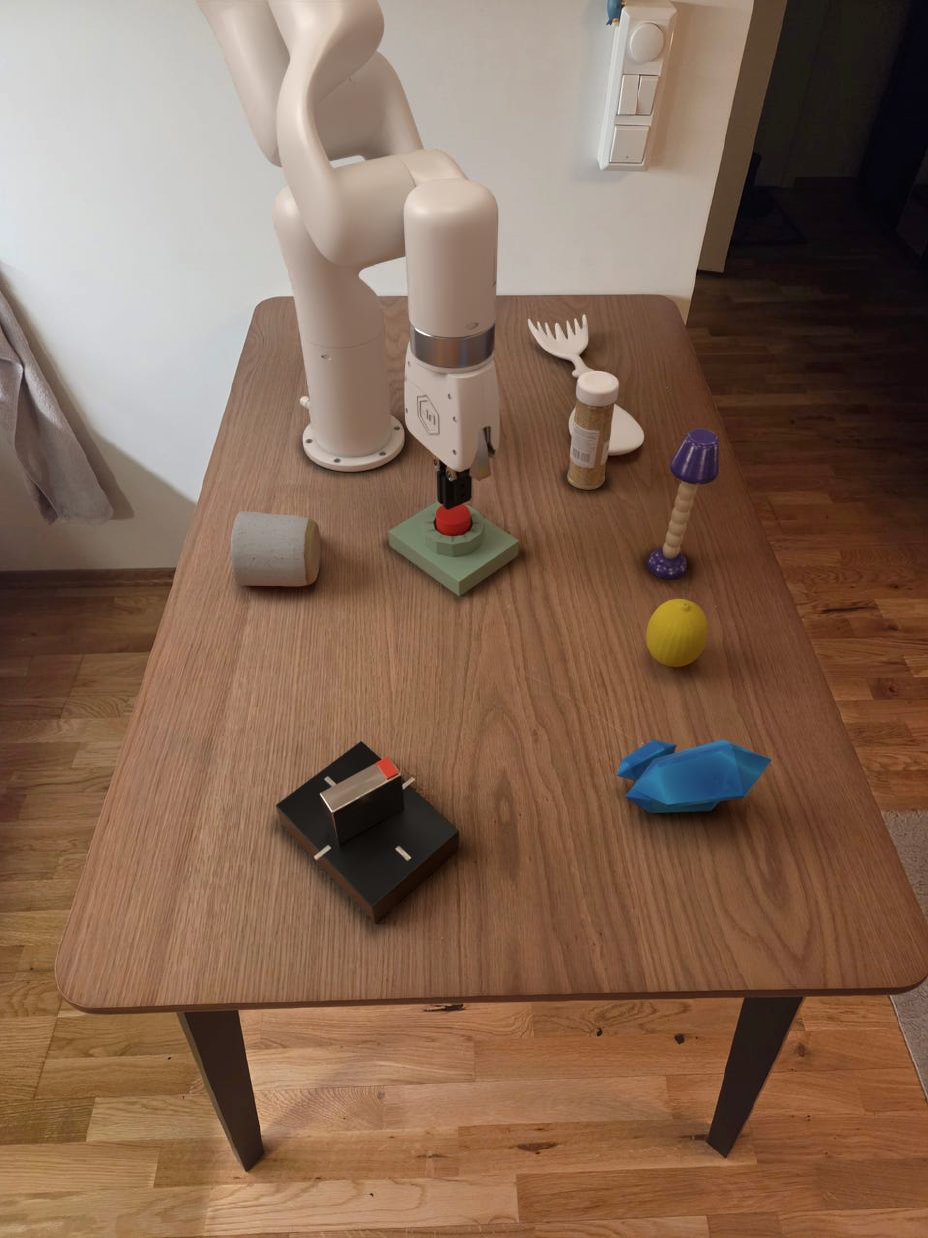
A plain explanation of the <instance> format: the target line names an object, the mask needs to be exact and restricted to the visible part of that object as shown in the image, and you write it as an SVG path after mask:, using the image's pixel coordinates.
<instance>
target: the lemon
mask: <svg viewBox="0 0 928 1238" xmlns="http://www.w3.org/2000/svg"><path fill="white" fill-rule="evenodd" d="M708 627H709V626H708V620H707V617H706V614H705V612H704V611H703V610H702V608H701V607H700V606H699V605H698V604H696V603H695V602H693V601H691V600H689V599H685V598H674V599H669V600H667V601H664V602H663V603H661V604H660V605H659V606H658V607H657V608H656V609H655V610H654V612H653V613H652V615H651V616H650V619H649V621H648V623H647V626H646V633H645V640H646V647H647V649H648V651H649V653H650V655H651V656H652V657H653V658H654V660H656V661H657V662H658V663H660V664H662V665H663V666H667V667H669V668H679V667H684V666H685V667H686V666H687V665H690V664H691V663H693V662H694V661H696V660H697V659H698V657H699V656H700V655H701V654H702V652H703V651H704V649H705V647H706V643H707V640H708V635H709V628H708Z"/></svg>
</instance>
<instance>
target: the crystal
mask: <svg viewBox="0 0 928 1238" xmlns="http://www.w3.org/2000/svg"><path fill="white" fill-rule="evenodd" d="M677 746H678V745H677V744H676V743H671V742H666V741H662V740H657V739H651V740H650V741H648V742H647V743H645V744H644V745H641V746H640V747H639V748H637V749H636V750H634V751H632V752H631V753H629V754H628V755H626V756H625V757H622V759H621V761H620V764H619V768H618V770H617V774H616V777H619V778H624V779H627V780H630V781H635V783H634V784H633V786H631V789H630V790H629V791H628V792H627V793H626V794H625V795H624V797H625V798H626V799H628V800H629V801H631V803H632V802H633V803H634V804H635V805H637V806H638V807H640V808H641V809H643V810H644V811H645V812H647V813H649V814H665V813H666V814H667V813H689V812H690V813H692V812H693V813H694V812H711V811H713V809H715V807H716V806H718V804H719V803H720V802H724V801H732V800H739V799H745V797H746V796H747V795H748V793H749V792H750V791H751V790H752V788H753V787H754V785H755V784H756V782H757V781H758V780H759V778H760V777H761V776H762V774H763V773H764V772H765V770H766V769H767V768H768V767H769V764H770V763H771V762H772V759H771V758H770V757H766V756H764V755H762V754H760V753H757V752H754V751H752V750H750V749H748V748H745V747H743V746H740V745H738V744H735V743H733V742H731V741H729V740H727V739H724V738H721V739H718V740H715V741H711V742H708V743H704V744H701V745H697V746H694V747H690V748H686V749H683V750H680V751H676V748H677ZM675 751H676V752H675Z"/></svg>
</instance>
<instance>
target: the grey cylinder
mask: <svg viewBox="0 0 928 1238" xmlns="http://www.w3.org/2000/svg"><path fill="white" fill-rule="evenodd" d="M320 563H321V533H320V527H319V524H318V522H316V520H315V519H312V518H310V517H305V516H300V515H292V514H277V513H267V512H257V511H250V510H249V511H247V510H243V511H239V512H238V513H237V514H236V517H235V519H234V522H233V525H232V531H231V537H230V565H231V566H230V567H231V570H232V571H231V572H232V575H233V578H234V581H235V583H236V584H237V585H238V586H259V587H261V586H262V587H279V586H280V587H304V586H310V585H312V584H313V583H314V582H316V581H317V578H318V576H319V570H320Z"/></svg>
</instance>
